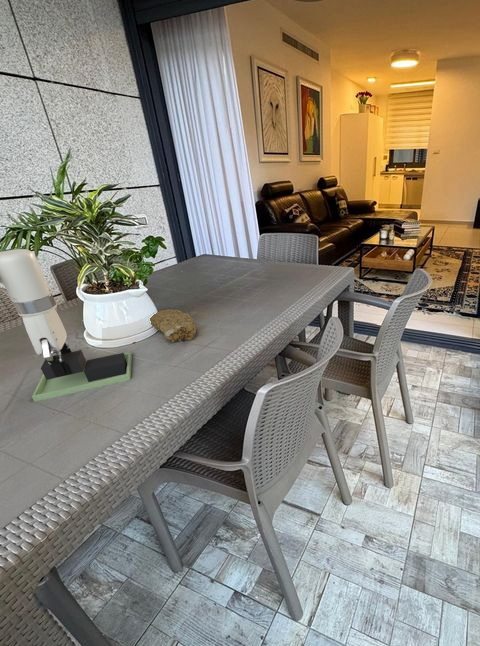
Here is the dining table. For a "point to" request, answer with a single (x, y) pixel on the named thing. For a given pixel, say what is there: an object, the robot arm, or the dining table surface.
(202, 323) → the dining table surface
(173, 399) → the dining table surface
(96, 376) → the pad
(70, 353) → the pad
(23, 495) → the dining table surface
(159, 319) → the sponge
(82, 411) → the dining table surface
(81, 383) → the tray
